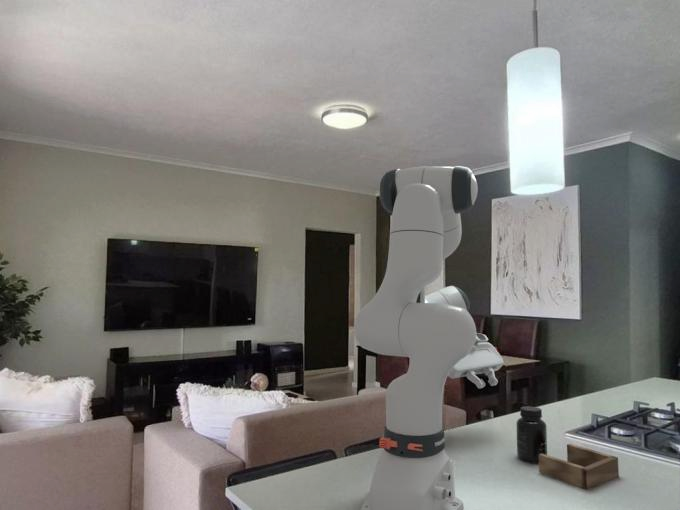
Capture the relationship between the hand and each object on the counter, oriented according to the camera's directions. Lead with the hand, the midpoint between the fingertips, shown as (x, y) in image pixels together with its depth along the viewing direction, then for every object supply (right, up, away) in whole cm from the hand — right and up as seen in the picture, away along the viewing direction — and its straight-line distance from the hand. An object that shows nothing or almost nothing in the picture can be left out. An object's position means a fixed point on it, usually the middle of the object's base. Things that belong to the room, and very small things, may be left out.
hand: (488, 385), depth 129 cm
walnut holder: (+14, -14, -21) cm, 29 cm away
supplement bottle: (+7, -15, -11) cm, 20 cm away
